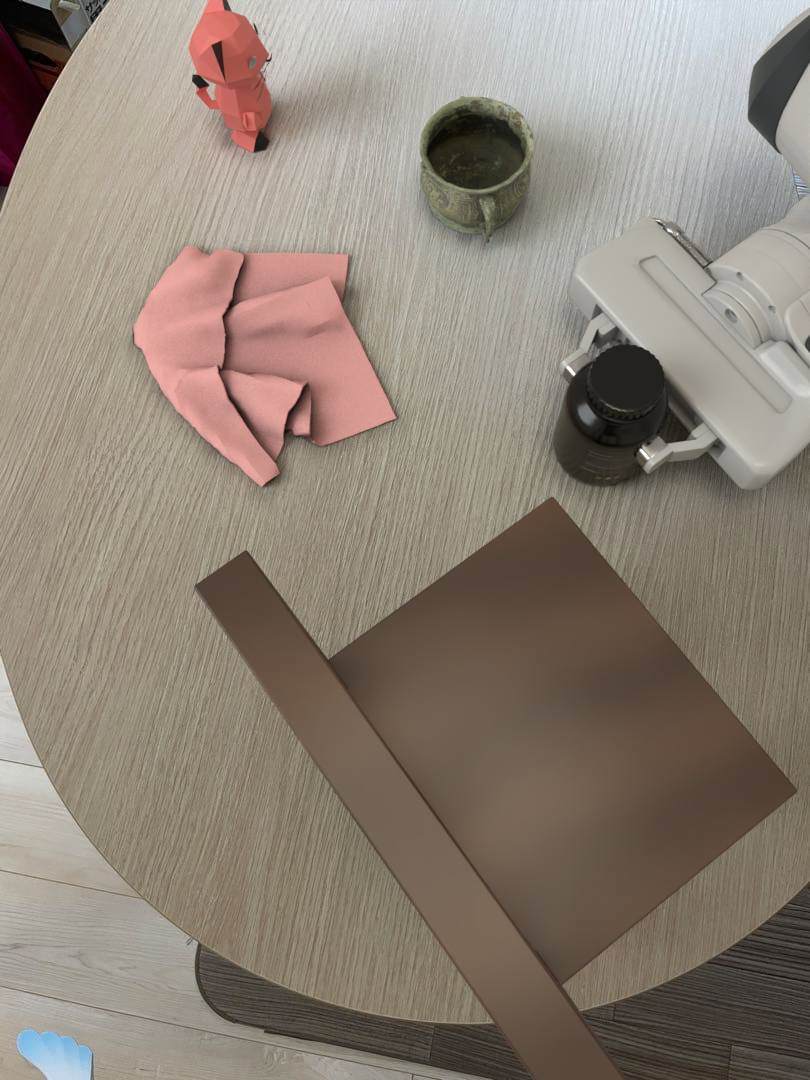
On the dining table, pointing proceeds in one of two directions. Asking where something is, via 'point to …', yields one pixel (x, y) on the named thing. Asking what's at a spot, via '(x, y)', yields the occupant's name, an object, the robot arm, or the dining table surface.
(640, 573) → the dining table surface
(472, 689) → the shelf
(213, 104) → the cat figurine
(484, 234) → the vessel
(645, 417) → the supplement bottle
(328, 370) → the cloth
